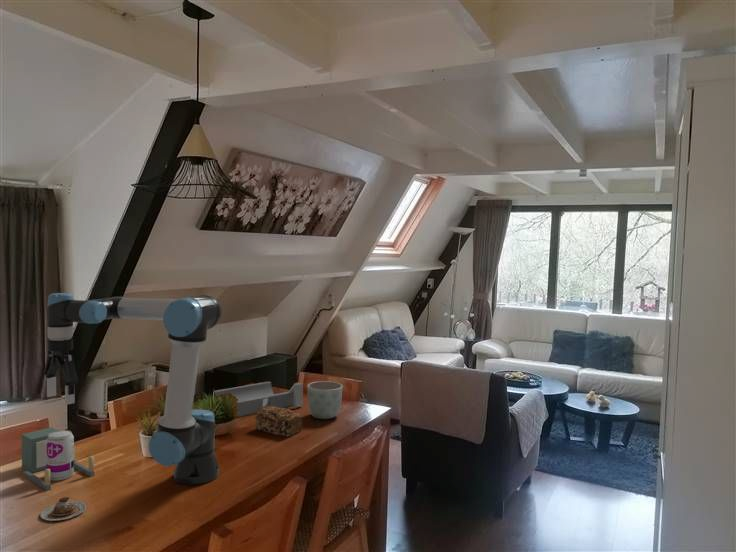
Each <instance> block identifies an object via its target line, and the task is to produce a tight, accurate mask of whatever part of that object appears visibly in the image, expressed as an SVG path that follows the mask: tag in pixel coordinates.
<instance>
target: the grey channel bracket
mask: <svg viewBox="0 0 736 552" xmlns="http://www.w3.org/2000/svg"><path fill="white" fill-rule="evenodd" d="M272 388H273V387H272V382H271V381H264V382H258V383H252V384H247V385H242V386H241V385H240V386H236V387H228V388H222V389H217V390H213V392H214V393H215V395H220V394H225V393H231V394H232V395H233V396H235V397H236V398H237V399H238V401H237V403H238V405H237V409H238V416H237V417H238V418H240V417H241V418H242V417H245V416H250V415H254V414H255V415H256V414H257V411H258V410H259V409H260V408H262V407H264V406H274V407H280V408H288V407H292V406H293V408H294V409H295V410H297V408H298V409H299V407H303V405H304V404H303V403H304V402H303V401H304V383H301V382H295V383H293V385H292V387H291V388H290V389H289V390H288V391H286V392H280V393H274V390H273V389H272Z"/></svg>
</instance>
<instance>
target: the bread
mask: <svg viewBox="0 0 736 552" xmlns="http://www.w3.org/2000/svg"><path fill="white" fill-rule="evenodd" d="M254 419H255V427H256V429H257V430H258V431H260V430H261V431H263V432H266V433H269V434H273V435H278V436H284V437H292V436H294V435H295V434H299V433H300V432H301V430H302V426H303V417H302V416H301V414H300V413H298V412H295V411H294V410H291V409H288V408H286V407H283V408H280V407H274V406H264V407H262V408H260V409H259V410H258V411H257V413H255V418H254Z"/></svg>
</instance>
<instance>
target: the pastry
mask: <svg viewBox="0 0 736 552" xmlns="http://www.w3.org/2000/svg"><path fill="white" fill-rule="evenodd" d="M86 508H87V505H86V504H85V503H84V502H82V501H75V500H72V499H70V497H69V496H67V497H66V496H64V497H60V498H59V501H58V502H57V503H55V504H52V505H50V506H48V507H46V508H44V509H43V510H42V511H41V513H40V515H39V516H40V518H41V519H42V520H43V521H49V522H54V521H55V522H56V521H58V522H59V521H63V520H69V519H72V518H75V517H77V516H78V515H80V514H82V513H83V512H85V510H86ZM77 509H78V511H77ZM76 511H77V512H76ZM75 512H76V513H75ZM50 513H51V514H52V516H54V517H62V518H51V517H50V516H49V514H50ZM73 513H74V514H73ZM71 514H72V515H71ZM68 515H70V516H68ZM64 516H65V517H64ZM66 516H67V517H66Z"/></svg>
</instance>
